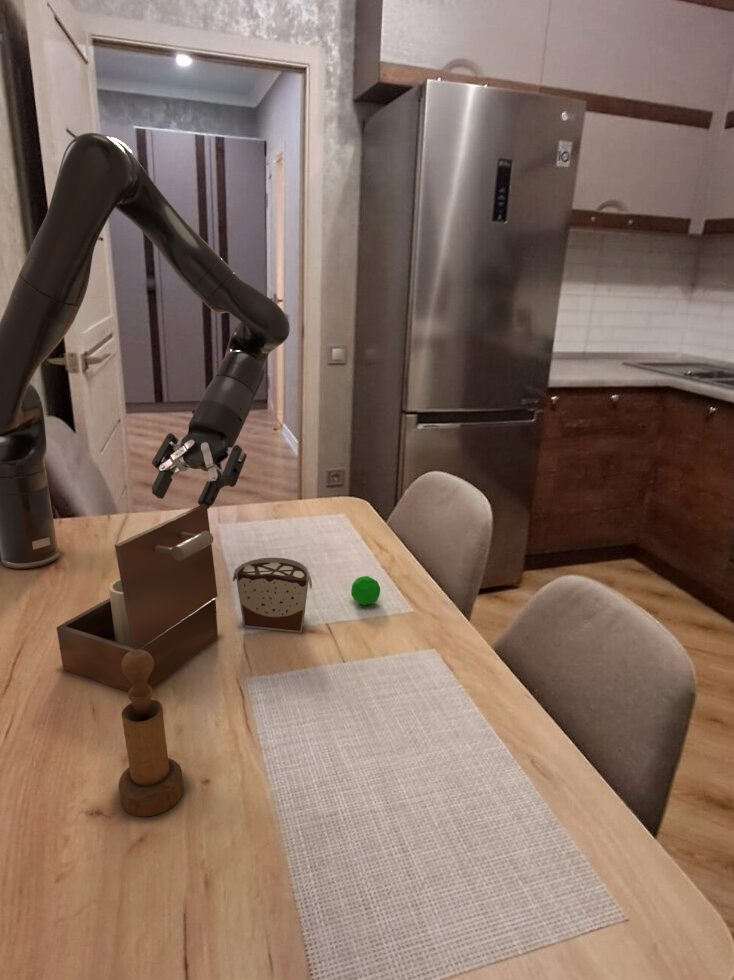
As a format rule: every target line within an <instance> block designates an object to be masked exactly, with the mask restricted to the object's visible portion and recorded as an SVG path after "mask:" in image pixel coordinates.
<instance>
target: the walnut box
mask: <svg viewBox="0 0 734 980" xmlns="http://www.w3.org/2000/svg"><path fill="white" fill-rule="evenodd" d="M217 615H218V614H217V600H216V598H214V599H213V600H211V601H210V602H208V603H207V604H205V605H204V606H202V607H201V608H199V609H198V610H196V611H195V612H193V613H192V614H190V615H189V616H188V617H186V618H185V619H183V620H182V621H180V622H179V623H177V624H176V625H174V626H173V627H171V628H170V629H168V630H167V631H165V632H164V633H162V634H161V635H159V636H158V637H156V638H155V639H153V640H152V641H150V642H149V643H147V644H146V645H144V646H143V647H142V648H140V649H139V650H145V651H147V652H148V653H149V654H150V655H151V656H152V658H153V661H154V667H153V670H152V672H151V674H150V676H149V678H148V679H147V684H148V685H149V686H151V687H152V688H154V687H155V686H156V685H157V684H159V683H160V682H162V681H163V680H164V679H165V678H167V677H168V676H169V675H171V674H172V673H173V672H174V671H176V670H177V669H178V668H180V667H181V666H183V665H184V664H185V663H187V662H188V661H189V660H191V659H192V658H193V657H194V656H196V655H197V654H198V653H200V652H201V651H202V650H203V649H205V648H206V647H208V646H209V645H210V644H211V643H213V642H214V641H216V640H217V639H218V638H219V631H218V617H217ZM56 632H57V639H58V645H59V651H60V658H61V663H62V669H63V670H64V671H67V672H69V673H72V674H75V675H78V676H80V677H84V678H86V679H89V680H92V681H95V682H98V683H101V684H104V685H107V686H110V687H112V688H115V689H118V690H121V691H124V692H127V693H128V692H129V690H130V689H131V688H132V683H131V682H130V681H129V680H128V679H127V678H126V677H125V675H124V674H123V672H122V669H121V664H122V660H123V658H124V656H125V655H126V654H127V653H128V652H130V651H133V650H135V649H133V648H132V647H129V646H126V645H123V644H120V643H116V641H115V633H114V625H113V617H112V609H111V601H110V597H109V598H107V599H105V600H103V601H101V602H100V603H98V604H96V605H94V606H92V607H91V608H89V609H86V610H85V611H83V612H82V613H80V614H78V615H76V616H74V617H72V618H71V619H69V620H67V621H65V622H63V623H62V624H60V625H57V626H56Z"/></svg>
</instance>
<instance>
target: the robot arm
mask: <svg viewBox="0 0 734 980" xmlns="http://www.w3.org/2000/svg"><path fill="white" fill-rule="evenodd" d="M115 209H116V210H117V211H118V212H120V213H121V214H122V215H123V216H124V217H126V218H127V219H128V220H129V221H130V222H132V223H133V224H134V225H135V226H136V227H137V228H138V229H139V230H140V231H141V232H143V234H144V235H145V236H146V237H147V238H148V239H149V240H150V241H151V243H152V244H153V245H154V246H155V248H156V249H157V250H158V251H159V253H160V254H161V255H162V257H163V258H164V260H165V261H166V262H167V264H168V265H169V267H170V268H171V269H172V271H173V272H174V273H175V274H176V275H177V277H178V278H179V279H180V280H181V281H182V282H183V283H184V284H185V286H186V287H187V288H188V289H190V291H192V293H193V294H195V296H196V297H198V298H199V300H200V301H202V302H203V303H204V305H205V306H206V307H208V309H210V310H211V311H212V312H214V313H215V314H219V315H223V314H226V313H227V314H230V315H231V316H233V317H234V318H236V319H237V320H238V322H237V323H236V326H235V327H234V328H233V331H232V333H231V334H230V337H229V340H228V343H227V346H226V350H225V353H224V354H225V356H224V357H223V359H222V361H220V365H219V366H218V368H217V370H216V372H215V374H214V375H213V378H212V380H211V381H210V383H209V384H208V386H207V387H206V389H205V391H204V393H203V394H202V396H201V398H200V401H198V402H199V403H198V404H197V406H196V408H195V410H194V412H193V414H192V416H191V419H190V420H189V423H188V431H187V434H186V435H185V436H184V437H183V438H180V437H177V436H176V435H174V434H173V433H172V432H170V433H167V435H166V436H165V437H164V440H163V441H162V443H161V445H160V447H159V448H158V450H157V451H156V454H155V456H154V457H153V459H152V461H151V465H152V466H154V468H156V470H158V473H157V476H156V478H155V480H154V482H153V484H152V486H151V494H152V495H154V496H155V497H156V498H157V499H161V500H162V499H164V498H165V496H166V494H167V492H168V490H169V488H170V486H171V484H172V482H173V478H174V477H175V476H176V475H178V474H180V473H181V472H183V473H184V472H186V471H188V470H189V469H193V470H202V471H204V472H207V473H208V476H209V477H208V478H209V480H210V481H209V480H207V481H206V483H205V485H204V487H203V489H202V491H201V493H200V496H199V497H198V499H197V504H198V506H200V505H202V504H205V505H207V510H209V509H210V507H212V506H213V505H214V504H215V502H216V500H217V497H218V495H219V493H220V491H221V489H223V488H225V487H230V488H234V487H235V486H236V485H237V483H238V480H239V478H240V475H241V472H242V471H243V467H244V464H245V462H246V459H247V456H248V455H247V454H246V452H245V451H244V449H242V447H241V446H240V445H238V444H236V442H237V440H238V438H239V436H240V434H241V431H242V430H243V427H244V425H245V424H246V421H247V419H248V416H249V414H250V413H251V410H252V406H253V402H254V401H255V397H256V395H257V394H258V391H259V389H260V387H261V385H262V382H263V380H264V377H265V367H264V364H265V361H266V359H267V358H268V356H269V355H270V353H271V352H272V351H274V350H275V349H277V348H278V347H279V346H281V345H282V344H283V343H285V342H286V341H287V339H288V337H289V335H290V332H291V331H290V329H291V328H290V323H289V319H288V317H287V315H286V313H285V312H284V311H283V309H282V308H281V307H280V306H279V305H278V304H277V303H276V302H275V301H274V300H272V299H271V298H270V297H268V296H267V295H266V294H265V293H262V292H261V291H260V290H258V289H257V288H256V287H254V286H253V285H251V284H249V283H247V281H244V280H243V279H242V278H241V277H240V276H239V275H238V274H237V273H236V272H234V270H233V269H232V268H231V266H229V264H228V263H227V262H226V261H225V260H224V259H223V258H222V257H221V256H220V255H219V254H218V253H217V252H216V251H215V250H214V249H213V248H212V247H211V246H210V244H208V243H207V242H206V241H205V240H204V239H203V238H202V237H201V236H200V235H199V234H198V232H196V231H195V230H194V228H193V227H192V226H190V224H189V223H188V222H187V221H186V220H185V219H184V218H183V217H182V215H180V213H178V211H177V210H176V209H175V208H174V207H173V205H172V204H171V203H170V202H169V201H168V199H167V198H166V197H165V195H164V194H163V193H162V192H161V190H160V189H159V188H158V187H157V185H156V184H155V182H154V181H153V180H152V179H151V176H150V175H149V174H148V173H147V172H146V170H145V169H144V167H143V166H142V164H141V163H140V161H139V160H138V159H137V157H136V156H135V154H134V153H133V151H132V150H131V149H130V148H129V146H127V145H126V143H124V141H123V142H122V141H121V140H120V139H118V138H115V137H113V136H111V135H107V134H101V133H97V132H84V133H82V134H80V135H77V136H75V137H74V138H73V139H72V140H71V141H70V142H69V144H68V145H67V146H66V148H65V150H64V153H63V156H62V159H61V162H60V166H59V170H58V173H57V178H56V181H55V183H54V188H53V192H52V196H51V198H50V203H49V205H48V208H47V212H46V215H45V217H44V219H43V222H42V224H41V225H40V227H39V229H38V231H37V234H36V236H35V238H34V240H33V242H32V243H31V245H30V249H29V251H28V253H27V256H26V258H25V260H24V262H23V265H22V266H21V268H20V271H19V273H18V275H17V278H16V281H15V283H14V286H13V288H12V290H11V293H10V296H9V299H8V301H7V304H6V307H5V310H4V312H3V314H2V317H1V319H0V561H1V563H2V565H3V566H5V567H7V568H11V569H16V570H17V569H19V570H20V569H21V570H23V569H25V570H26V569H33V568H34V569H35V568H39V567H43V566H46V565H49V564H51V563H53V562H55V561H56V560H58V558H59V557H60V549H59V546H58V540H57V533H56V528H55V527H56V526H55V521H54V514H53V509H52V508H53V507H52V501H51V493H50V489H49V488H50V487H49V482H48V477H47V470H46V469H47V468H46V463H45V458H46V454H47V449H48V444H47V443H48V442H47V432H46V422H45V413H44V407H43V402H42V399H41V396H40V394H39V392H38V390H37V389H36V387H35V386H34V385H33V384H32V383H31V381H32V379H33V376H34V375H35V373H36V371H37V370H38V369H39V367H40V366H41V365H42V363H43V362H44V361H45V360H46V359H47V358H48V357H49V356H50V354H51V353H52V352H53V351H54V350H55V349H56V348H57V346H58V345H59V344H60V343H61V342H62V340H63V339H64V338H65V336H67V333H68V332H69V331H70V329H71V327H72V326H73V323H74V322H75V320H76V317H77V315H78V313H79V311H80V308H81V306H82V304H83V302H84V299H85V296H86V294H87V291H88V287H89V282H90V276H91V270H92V262H93V257H94V251H95V248H96V244H97V242H98V239H99V237H100V235H101V234H102V231H103V229H104V227H105V225H106V223H107V222H108V220H109V218H110V217H111V215H112V214H113V212H114V210H115ZM235 444H236V445H235ZM180 459H182V460H183V461H181V460H180ZM226 459H227V461H226V464H225V465H224V469H223V467H222V462H224V461H225V460H226Z"/></svg>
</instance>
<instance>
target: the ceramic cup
mask: <svg viewBox="0 0 734 980" xmlns="http://www.w3.org/2000/svg"><path fill="white" fill-rule="evenodd" d="M108 593H109V598H110V601H111V609H112V617H113V625H114V633H115V641H116V643H120V644H123V645H126V646H129V647H132V641H131V636H130V630H129V624H128V618H127V613H126V607H125V601H124V596H123V590H122V584H121V578H120V577H119V578H117V579H115V580H113V581H111V583H110V584H109V585H108ZM132 648H133V647H132Z"/></svg>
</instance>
